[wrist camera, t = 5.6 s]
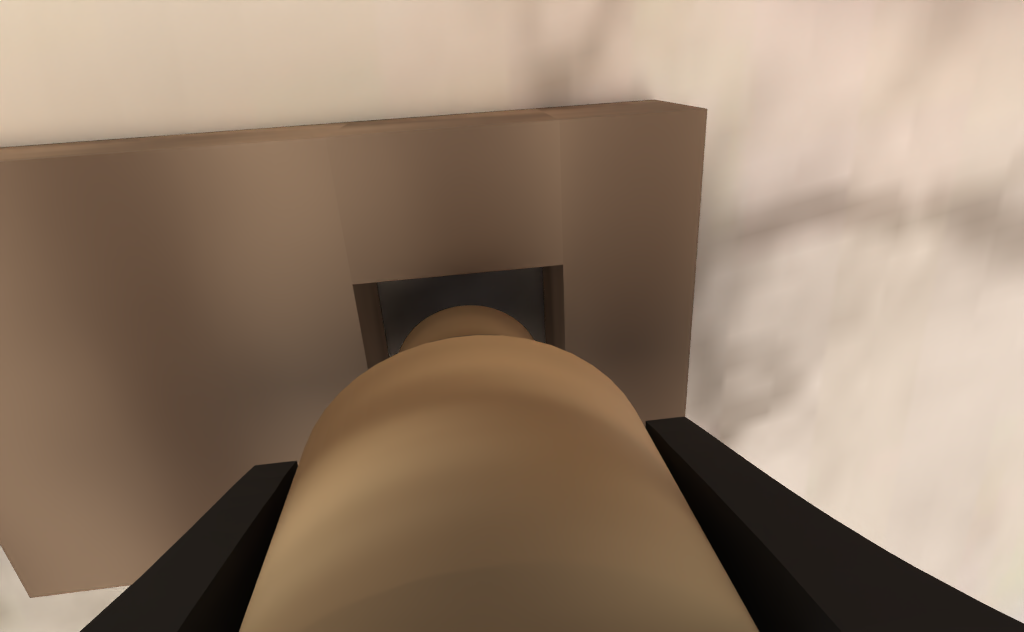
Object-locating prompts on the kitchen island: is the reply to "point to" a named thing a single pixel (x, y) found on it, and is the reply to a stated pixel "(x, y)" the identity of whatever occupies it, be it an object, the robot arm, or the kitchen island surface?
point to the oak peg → (487, 502)
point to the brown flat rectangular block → (299, 295)
